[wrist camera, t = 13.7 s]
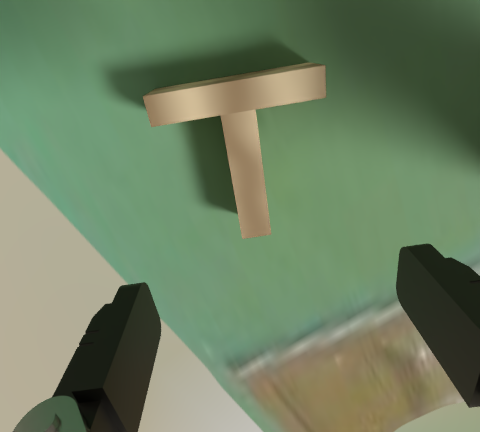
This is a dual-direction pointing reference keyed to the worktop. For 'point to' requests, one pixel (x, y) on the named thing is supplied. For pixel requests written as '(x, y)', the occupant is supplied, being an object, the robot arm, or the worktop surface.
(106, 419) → the robot arm
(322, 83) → the wooden pusher
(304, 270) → the worktop surface
